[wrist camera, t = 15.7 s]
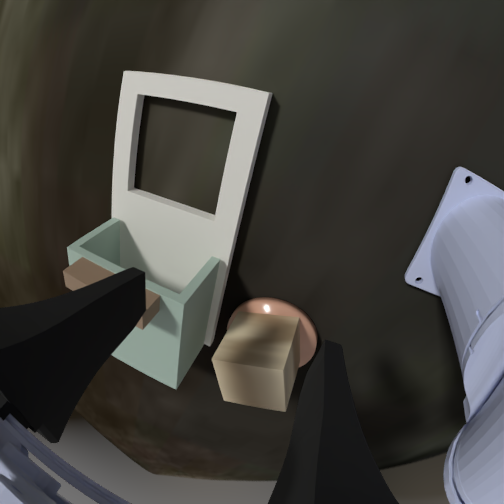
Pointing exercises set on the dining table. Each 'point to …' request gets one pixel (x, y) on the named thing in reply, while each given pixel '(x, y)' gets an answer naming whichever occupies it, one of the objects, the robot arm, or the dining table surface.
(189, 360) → the pale green open box
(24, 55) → the dining table surface
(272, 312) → the coaster
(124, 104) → the board
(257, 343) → the block
